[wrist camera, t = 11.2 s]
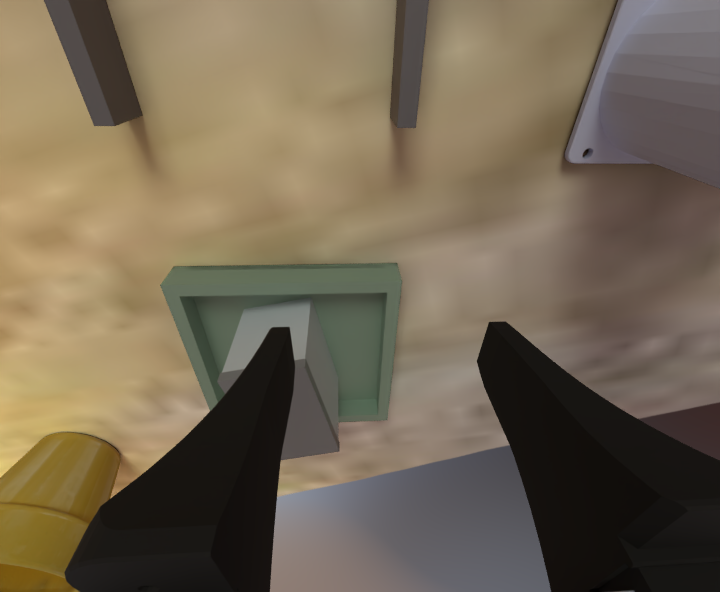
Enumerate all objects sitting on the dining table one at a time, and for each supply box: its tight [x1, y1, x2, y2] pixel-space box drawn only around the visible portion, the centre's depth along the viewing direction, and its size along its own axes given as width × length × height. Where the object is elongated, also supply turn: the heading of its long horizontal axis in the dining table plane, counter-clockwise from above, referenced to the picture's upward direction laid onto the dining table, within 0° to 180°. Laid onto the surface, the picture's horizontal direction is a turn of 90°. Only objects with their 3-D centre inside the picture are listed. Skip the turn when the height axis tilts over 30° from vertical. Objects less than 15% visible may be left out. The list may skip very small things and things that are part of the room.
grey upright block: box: [217, 297, 339, 460], centre depth 22 cm, size 5×8×6 cm, turn 10°
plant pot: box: [0, 432, 120, 592], centre depth 28 cm, size 10×10×10 cm
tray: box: [160, 263, 402, 422], centre depth 24 cm, size 14×14×2 cm
